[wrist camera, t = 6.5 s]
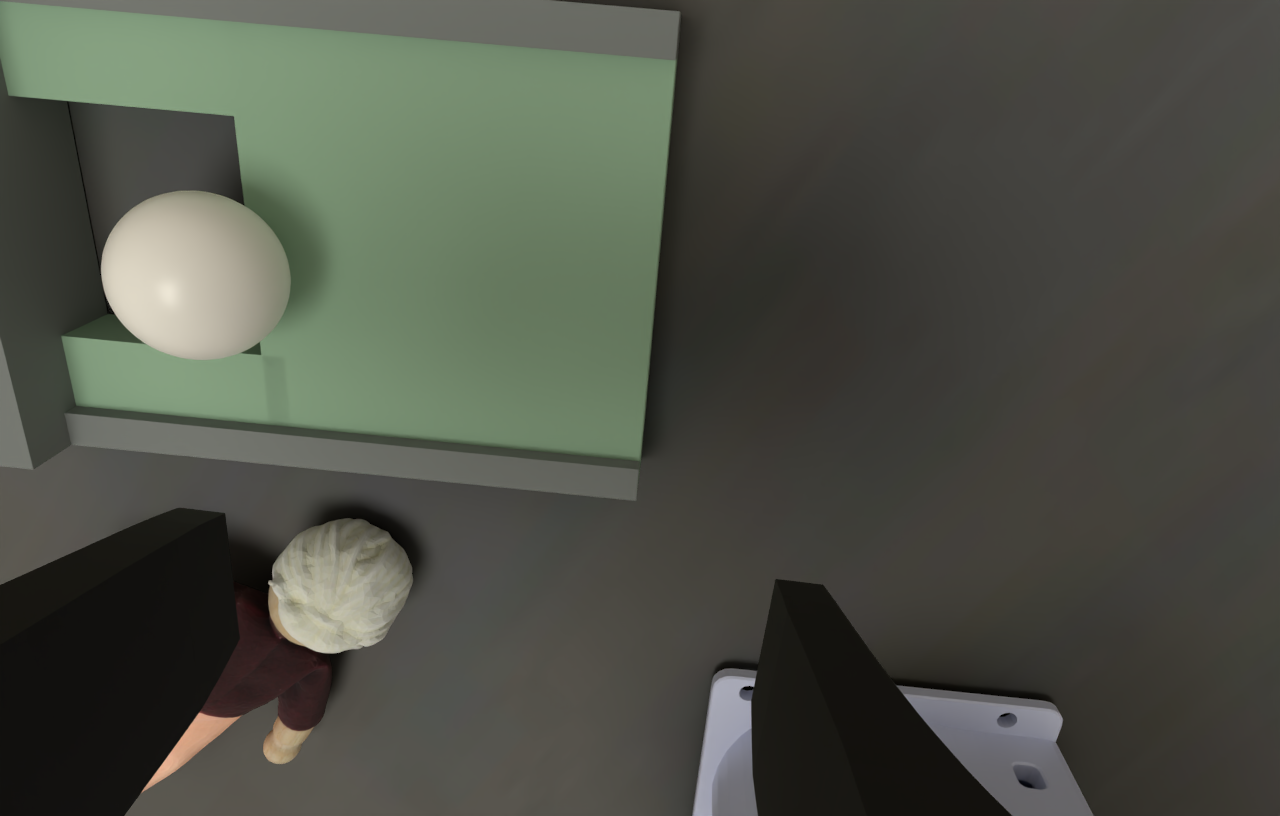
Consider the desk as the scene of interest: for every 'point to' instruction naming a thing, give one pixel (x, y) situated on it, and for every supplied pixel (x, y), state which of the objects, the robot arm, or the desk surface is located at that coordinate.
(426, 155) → the green walled tray
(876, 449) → the desk surface
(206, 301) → the ball
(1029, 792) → the robot arm
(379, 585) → the grandmother figurine
